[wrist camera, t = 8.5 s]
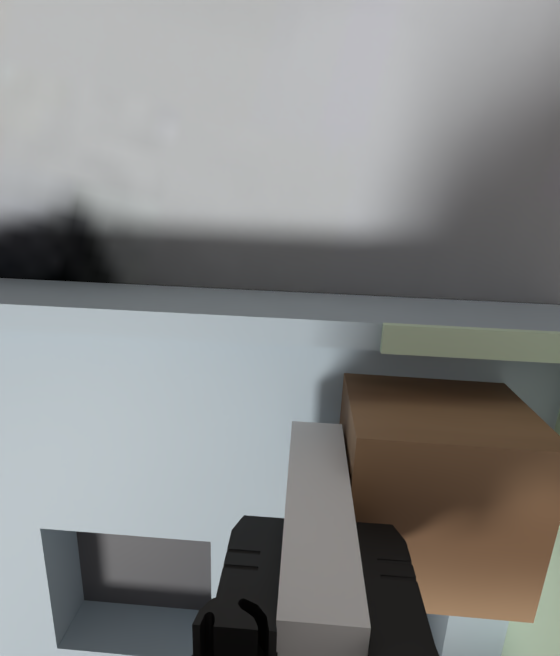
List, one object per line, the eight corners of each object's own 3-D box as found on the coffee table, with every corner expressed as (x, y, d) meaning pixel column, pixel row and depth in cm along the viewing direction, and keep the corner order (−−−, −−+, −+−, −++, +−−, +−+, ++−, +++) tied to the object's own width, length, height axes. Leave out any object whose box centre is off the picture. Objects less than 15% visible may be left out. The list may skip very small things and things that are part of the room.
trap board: (-40, 275, 17) (-201, 311, 11) (561, 304, 16) (691, 358, 10) (16, 606, 21) (-80, 741, 16) (485, 648, 20) (548, 808, 15)
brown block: (343, 373, 14) (356, 438, 10) (504, 383, 14) (578, 453, 10) (332, 505, 16) (339, 605, 12) (477, 516, 15) (533, 623, 11)
